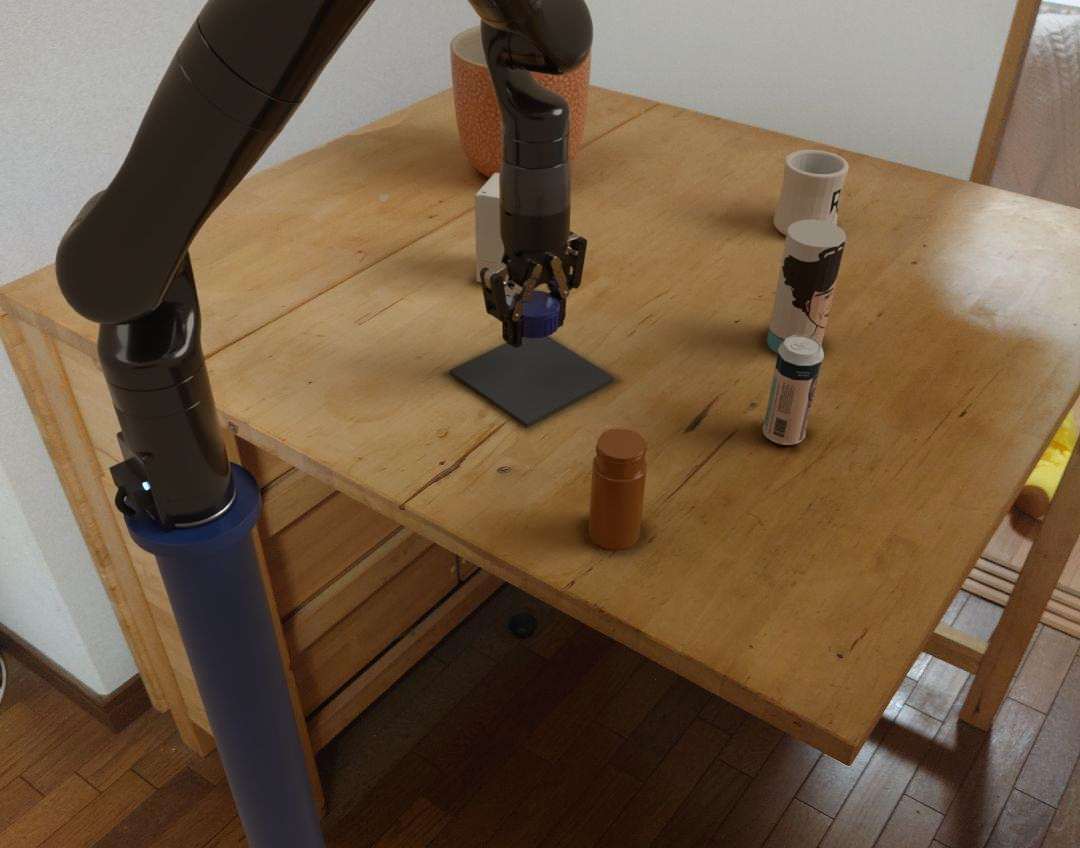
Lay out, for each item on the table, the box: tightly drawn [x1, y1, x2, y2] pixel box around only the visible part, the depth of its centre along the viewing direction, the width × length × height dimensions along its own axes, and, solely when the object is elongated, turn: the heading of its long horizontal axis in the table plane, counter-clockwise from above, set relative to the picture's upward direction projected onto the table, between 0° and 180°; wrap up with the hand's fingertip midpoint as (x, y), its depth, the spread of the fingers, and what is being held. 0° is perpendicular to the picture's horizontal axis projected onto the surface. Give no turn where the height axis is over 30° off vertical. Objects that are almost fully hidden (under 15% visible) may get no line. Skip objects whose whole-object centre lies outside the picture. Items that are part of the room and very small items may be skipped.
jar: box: [587, 428, 648, 551], centre depth 104 cm, size 5×5×12 cm
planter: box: [449, 25, 592, 179], centre depth 163 cm, size 21×21×19 cm
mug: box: [773, 149, 850, 237], centre depth 154 cm, size 12×9×10 cm
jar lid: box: [511, 289, 560, 338], centre depth 122 cm, size 6×6×3 cm
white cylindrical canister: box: [766, 220, 847, 354], centre depth 129 cm, size 7×7×15 cm
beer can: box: [762, 335, 825, 446], centre depth 116 cm, size 5×5×12 cm
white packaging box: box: [474, 173, 522, 291], centre depth 141 cm, size 7×7×13 cm
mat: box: [449, 336, 615, 428], centre depth 128 cm, size 14×14×1 cm
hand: (534, 333), depth 123 cm, fingers closed on jar lid, 5 cm apart
